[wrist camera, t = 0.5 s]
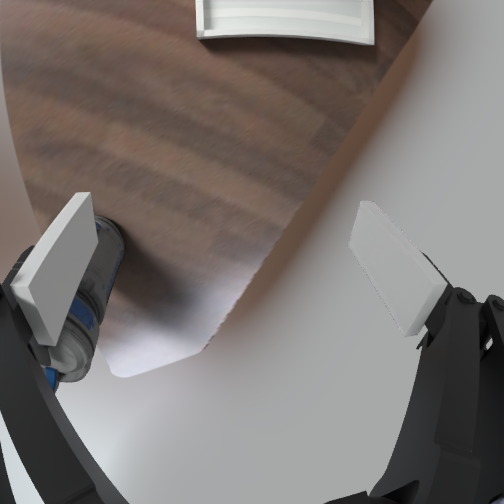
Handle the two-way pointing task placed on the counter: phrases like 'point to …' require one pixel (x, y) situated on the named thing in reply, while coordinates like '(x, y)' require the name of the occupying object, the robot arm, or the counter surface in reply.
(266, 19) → the white tray
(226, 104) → the counter surface
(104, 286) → the grey blue grenade canister
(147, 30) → the counter surface
